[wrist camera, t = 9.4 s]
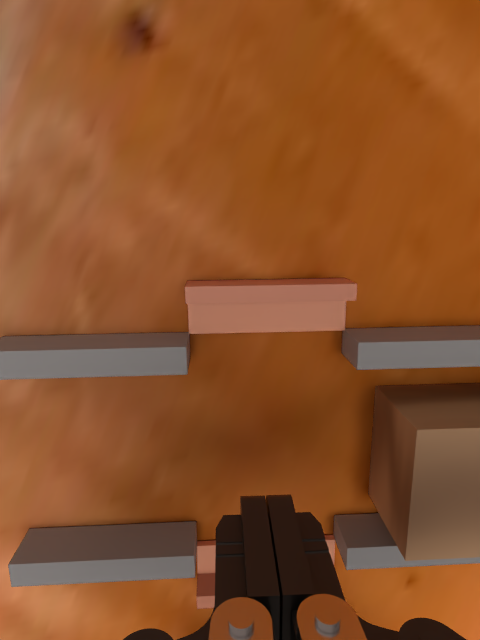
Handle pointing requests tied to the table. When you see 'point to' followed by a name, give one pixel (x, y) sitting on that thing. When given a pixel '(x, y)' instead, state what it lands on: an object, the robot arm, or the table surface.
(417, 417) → the walnut block
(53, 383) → the table surface
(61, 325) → the table surface
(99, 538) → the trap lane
